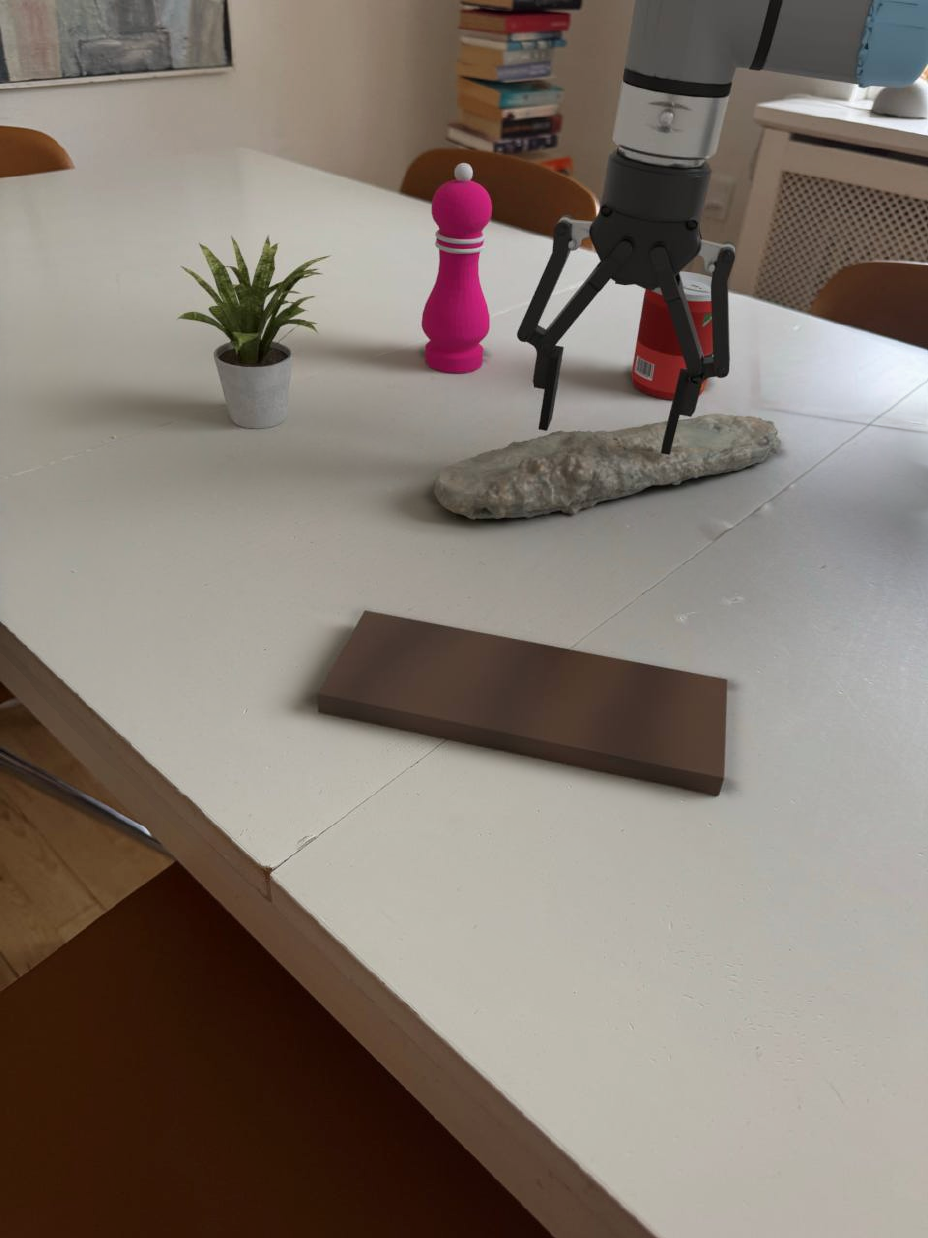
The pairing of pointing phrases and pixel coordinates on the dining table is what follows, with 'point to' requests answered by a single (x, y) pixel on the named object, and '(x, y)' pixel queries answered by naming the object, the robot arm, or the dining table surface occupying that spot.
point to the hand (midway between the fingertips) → (605, 435)
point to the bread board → (533, 700)
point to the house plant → (253, 336)
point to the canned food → (670, 337)
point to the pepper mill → (458, 276)
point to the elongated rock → (599, 465)
